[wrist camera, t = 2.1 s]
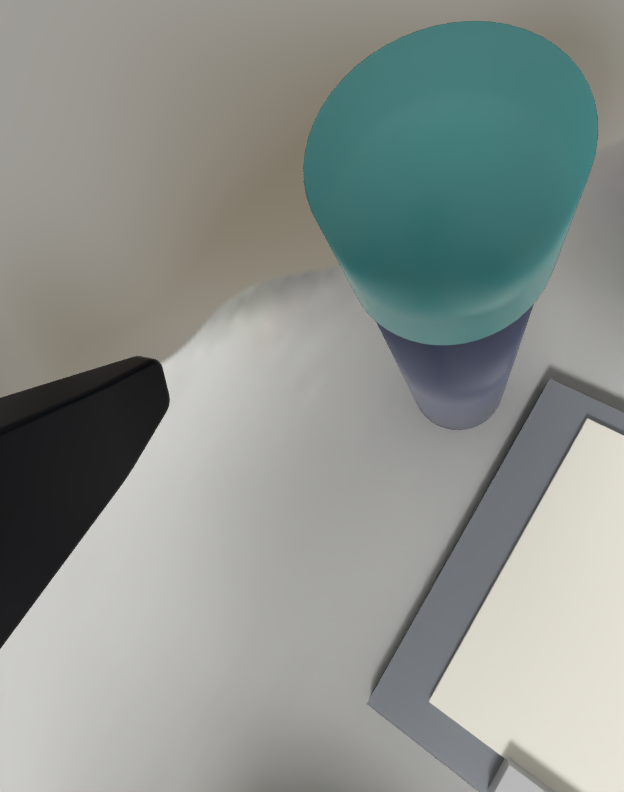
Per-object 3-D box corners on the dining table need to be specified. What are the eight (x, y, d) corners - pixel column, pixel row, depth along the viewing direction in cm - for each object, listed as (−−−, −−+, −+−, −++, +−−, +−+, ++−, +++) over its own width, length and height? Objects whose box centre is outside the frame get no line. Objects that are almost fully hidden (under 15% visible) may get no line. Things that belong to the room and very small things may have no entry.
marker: (477, 449, 17) (504, 325, 5) (395, 405, 18) (256, 218, 6) (523, 368, 17) (655, 56, 5) (438, 329, 19) (386, -3, 6)
